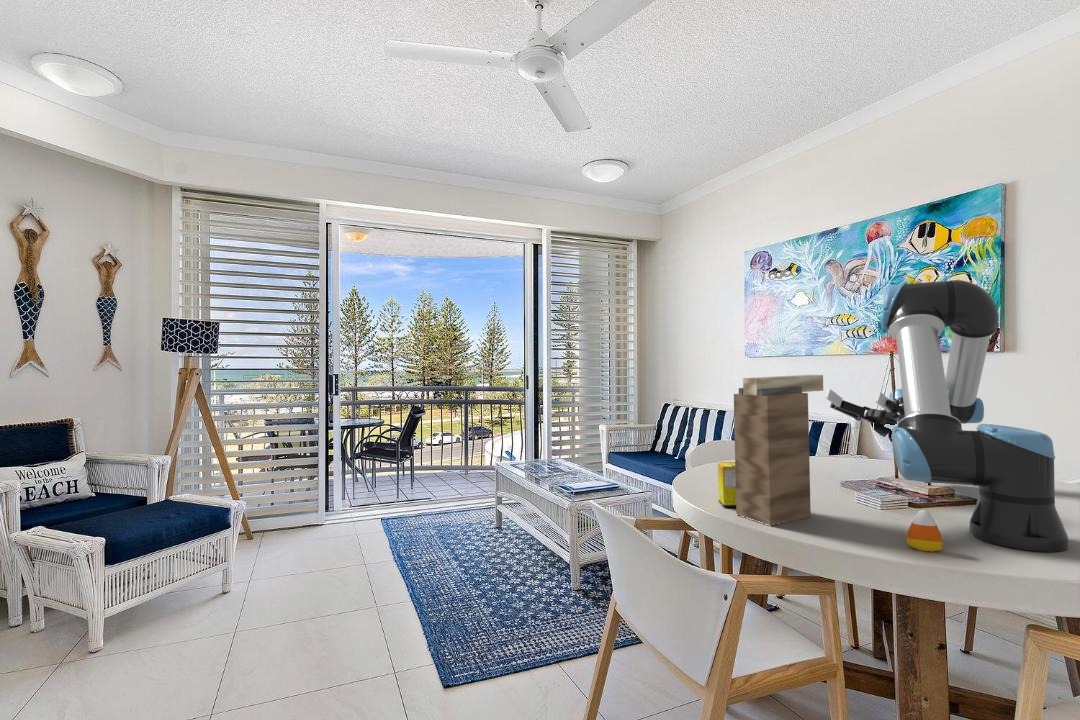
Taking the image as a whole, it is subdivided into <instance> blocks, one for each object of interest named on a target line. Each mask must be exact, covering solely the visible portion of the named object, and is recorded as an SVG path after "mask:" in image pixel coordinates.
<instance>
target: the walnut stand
mask: <svg viewBox="0 0 1080 720" xmlns="http://www.w3.org/2000/svg"><path fill="white" fill-rule="evenodd" d="M733 420H734V428H733V429H734V431H733V432H734V462H735V475H736V508H735V512H736V514H738V515H741V516H744V517H748V518H751V519H754V520H757V521H760V522H763V523H766V524H769V525H773V524H778V523H783V524H785V523H784V522H787V523H790V522H789V521H791V522H794V521H795V522H796V521H799V520H800V521H801V520H802V519H807V518H811V517H812V513H811V475H810V474H811V471H810V469H811V468H810V462H811V461H810V428H809V427H810V426H809V425H810V424H809V423H810V422H809V392H802V387H783V388H768V389H758V395H743V387H739V388H738V393H733ZM736 514H735V515H736ZM778 525H779V524H778Z"/></svg>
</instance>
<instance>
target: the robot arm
mask: <svg viewBox="0 0 1080 720" xmlns="http://www.w3.org/2000/svg"><path fill="white" fill-rule="evenodd" d="M999 316H1000V315H999V310H998V307H997V305H996V302H995V301H994V299H993V297H992V296H991V295H990V294H989V293H988V292H987V291H986V290H985V289H983V288H982V287H980V286H979V285H977V284H975V283H972V282H971V281H966V280H959V279H957V280H956V279H954V280H953V279H952V280H944V281H943V280H942V281H929V282H917V283H916V282H915V283H905V282H904V283H901V284H893V285H890V286H888V287H886V288H885V291H884V298H883V307H882V317H881V329H882V330H886V331H888V334H889V336H890V337H891V338H893V339H894V340H896V345H897V347H896V348H897V353H898V363H899V371H900V372H899V373H900V374H899V376H900V381H901V382H900V383H901V388H897V389H895V399H896V401H895V402H893V391H891V392H890V393H889V395H888V396H886V395H885V394H884V393H882V391H881V392H880V391H877V393H876V396H875V400H874V403H876V404H878V405H879V406H880V407H881V408H882V409H877V408H876V409H875V408H871V407H868V406H860V405H857V404H855V403H852V402H849V401H846V400H843V397H842V396H840V395H839V394H838V393H837V392H835V391H834V390H832V389H831V388H827V390H826V393H825V396H824V398H825V399H827V400H828V401H829V402H830V406H829V408H830V409H833V410H835V411H837V412H839V413H842V414H844V415H846V416H849V417H850V418H853V419H854V420H856V421H859V422H860V421H861V420H864V421H867V422H869V424H870V426H871V429H873V423H874V429H873V431H874V430H875V431H874V432H875V433H877V434H878V435H880V436H881V437H882V436H883V438H884V437H885V436H886V435H887V434H888V433H890V432H891V429H889V428H886V427H884V425H885V424H890V425H895V424H897V422H898V428H894V429H893V430H892V434H891V439H892V444H891V446H892V454H893V457H894V462H895V465H896V468H897V470H898V472H899V474H900V475H901V477H903V479H905V480H907V481H913V482H921V483H922V482H923V483H925V484H931V483H932V484H946V485H961V486H976V487H978V489H979V490H978V491H979V497H978V500H977V503H976V505H975V507H974V510H973V513H972V515H971V517H970V519H969V533H970V535H971V536H974V537H975V538H977V539H979V540H981V541H983V542H986V543H990V544H994V545H998V546H1001V547H1002V546H1003V547H1007V548H1012V549H1016V550H1017V549H1018V550H1025V551H1032V552H1033V551H1034V552H1044V553H1045V552H1047V553H1048V552H1062V551H1065V550H1067V549H1069V536H1068V533H1067V530H1066V529H1065V527H1064V523H1063V521H1062V519H1061V518H1060V515H1059V513H1058V511H1057V508H1056V499H1055V496H1056V495H1055V494H1056V493H1055V489H1056V488H1055V460H1056V456H1055V450H1054V445H1053V444H1054V443H1053V440H1052V438H1051V437H1050V436H1049V435H1048V434H1046V433H1043V432H1041V431H1037V430H1031V429H1028V428H1020V427H1014V426H1009V425H1008V426H1006V425H1000V424H988V423H981V422H983V420H984V417H985V413H984V412H985V407H984V401H983V399H981V398H980V397H978V392H979V387H980V383H981V377H982V374H983V370H984V365H985V362H986V361H985V360H986V357H987V356H986V355H987V352H988V348H989V342H990V338H991V336H993V335H994V334H995V333H996V332H997V329H998V325H999V321H1000V320H999V319H1000V317H999ZM946 327H947V328H949V331H951V332H952V337H951V342H950V349H949V355H948V360H947V361H948V362H947V366H946V373H945V368H944V362H943V357H942V356H943V355H942V350H941V344H940V343H941V341H940V338H939V337H940V335H941V334H943V332H944V331H945V328H946ZM888 397H889V398H888ZM900 403H904V405H902V406H899V404H900ZM897 412H898V413H900V415H899V414H897ZM963 424H965V425H966V424H978V425H977V427H976V430H963V427H962V426H963Z"/></svg>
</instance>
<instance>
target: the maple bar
mask: <svg viewBox="0 0 1080 720" xmlns="http://www.w3.org/2000/svg"><path fill="white" fill-rule="evenodd" d="M783 387H802V393H810V392H821V391H824V374H800V375H799V374H798V375H795V374H794V375H778V376H776V375H775V376H761V377H760V376H756V377H742V388H743V395H758V389H768V388H783Z"/></svg>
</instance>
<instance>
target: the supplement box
mask: <svg viewBox="0 0 1080 720" xmlns="http://www.w3.org/2000/svg"><path fill="white" fill-rule="evenodd" d="M717 488H718V489H717V491H718V503H719V502H720V503H721V504H722V505H721V504H720V503H719V504H720V505H721V507H722V508H724V507H736V475H735V461H717Z"/></svg>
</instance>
